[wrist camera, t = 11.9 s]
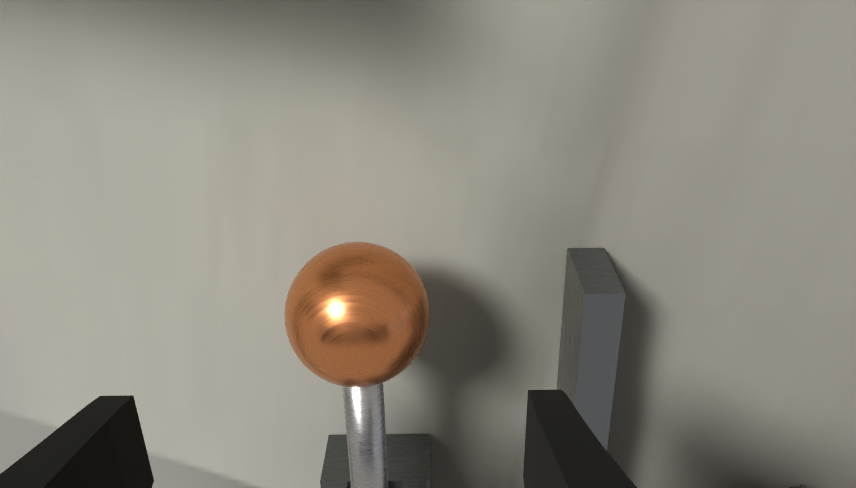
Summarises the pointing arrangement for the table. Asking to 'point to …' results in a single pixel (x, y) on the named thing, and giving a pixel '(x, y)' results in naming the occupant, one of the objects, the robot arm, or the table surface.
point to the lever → (359, 338)
